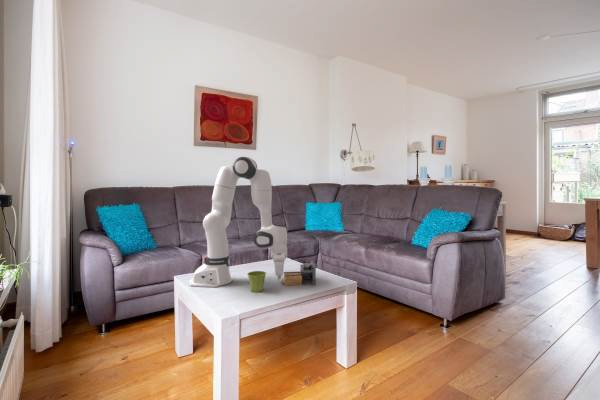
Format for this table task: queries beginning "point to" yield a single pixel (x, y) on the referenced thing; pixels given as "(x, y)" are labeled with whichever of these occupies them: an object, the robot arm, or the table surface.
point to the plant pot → (256, 280)
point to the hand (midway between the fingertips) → (279, 278)
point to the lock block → (293, 278)
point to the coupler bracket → (308, 271)
